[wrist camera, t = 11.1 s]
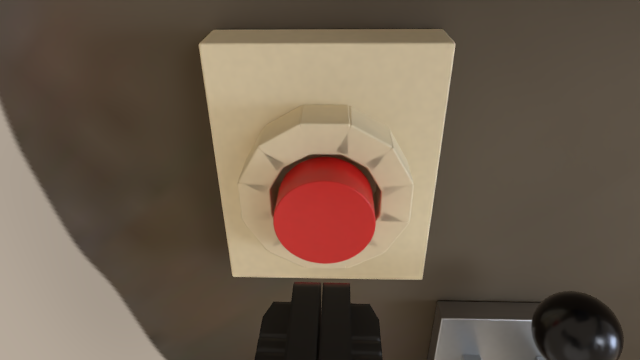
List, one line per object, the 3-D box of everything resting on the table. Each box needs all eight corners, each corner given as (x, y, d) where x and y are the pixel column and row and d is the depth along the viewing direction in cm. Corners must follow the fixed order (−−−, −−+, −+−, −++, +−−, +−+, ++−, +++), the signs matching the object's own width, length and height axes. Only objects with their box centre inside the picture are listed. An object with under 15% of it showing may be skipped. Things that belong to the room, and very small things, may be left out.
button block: (212, 29, 18) (182, 57, 14) (443, 28, 17) (469, 57, 14) (240, 247, 23) (224, 305, 20) (415, 250, 23) (429, 309, 20)
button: (275, 155, 16) (269, 180, 15) (375, 156, 16) (378, 181, 15) (281, 234, 18) (276, 263, 17) (370, 235, 18) (373, 265, 17)
